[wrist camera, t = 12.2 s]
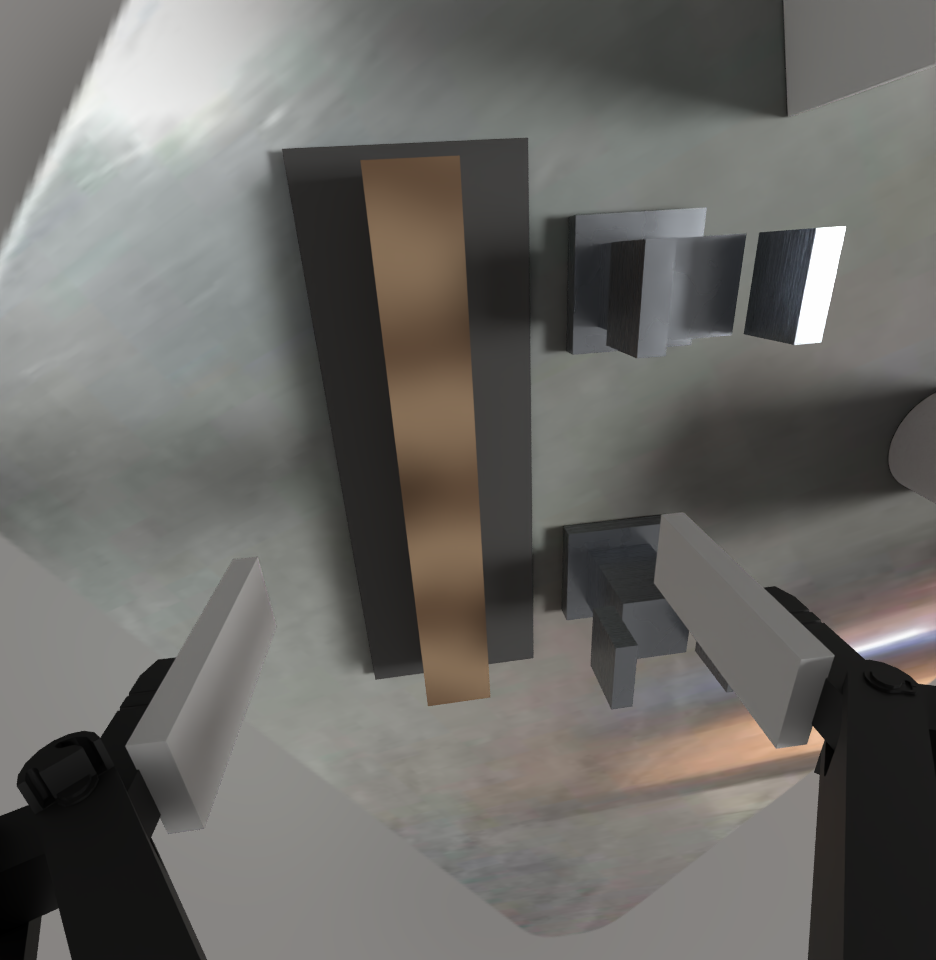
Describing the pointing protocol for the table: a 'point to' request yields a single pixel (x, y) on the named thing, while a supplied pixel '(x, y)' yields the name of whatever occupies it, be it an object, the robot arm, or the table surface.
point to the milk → (853, 47)
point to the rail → (432, 409)
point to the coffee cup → (916, 450)
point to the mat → (365, 393)
